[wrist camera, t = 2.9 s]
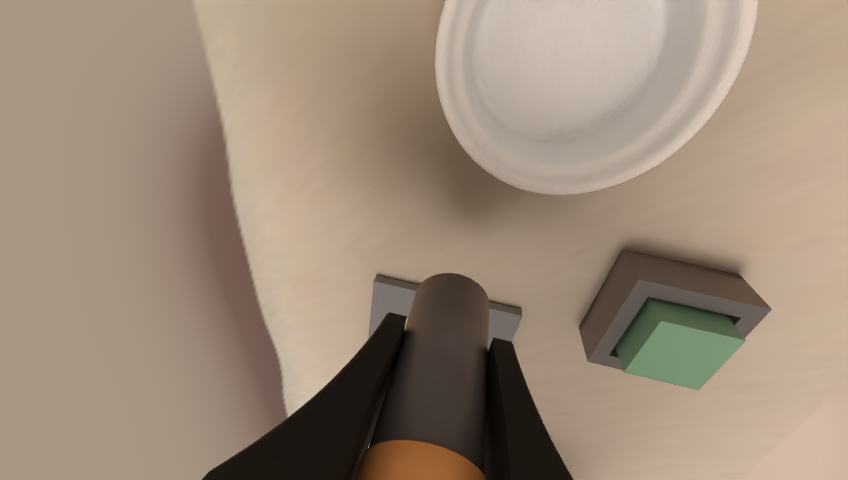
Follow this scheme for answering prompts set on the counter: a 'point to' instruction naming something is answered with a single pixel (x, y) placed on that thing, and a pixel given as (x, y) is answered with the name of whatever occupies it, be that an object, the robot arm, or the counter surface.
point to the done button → (677, 343)
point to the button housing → (666, 282)
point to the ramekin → (584, 83)
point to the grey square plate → (400, 299)
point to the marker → (435, 389)
